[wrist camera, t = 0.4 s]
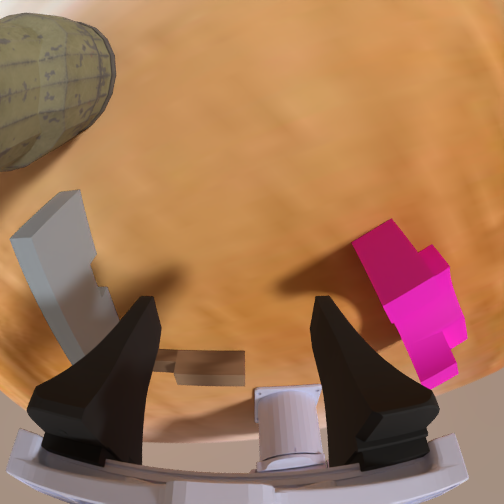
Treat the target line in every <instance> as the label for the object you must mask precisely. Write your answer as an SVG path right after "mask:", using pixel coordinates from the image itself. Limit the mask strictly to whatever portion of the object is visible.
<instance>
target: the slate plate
mask: <svg viewBox="0 0 504 504" xmlns="http://www.w3.org/2000/svg"><path fill="white" fill-rule="evenodd" d="M10 241H11V244H12V247H13V249H14V252H15V254H16V257H17V259H18V262H19V264H20V266H21V269H22V271H23V273H24V276H25V278H26V280H27V282H28V285H29V287H30V289H31V291H32V293H33V295H34V297H35V299H36V301H37V303H38V305H39V307H40V309H41V311H42V313H43V315H44V317H45V319H46V321H47V323H48V325H49V326H50V328H51V330H52V332H53V334H54V335H55V337H56V339H57V341H58V342H59V344H60V346H61V347H62V349H63V351H64V352H65V354H66V356H67V357H68V359H69V361H70V362H71V364H72V365H74V364H75V363H76V362H78V361H79V360H80V359H82V358H83V357H84V356H85V355H87V354H88V353H89V352H90V351H91V350H92V349H94V348H95V347H96V346H97V345H98V344H99V343H100V342H101V341H102V340H103V339H104V338H105V337H106V336H107V335H108V334H109V332H110V331H111V330H112V329H113V328H114V327H115V326H116V325H117V324H118V322H119V321H120V320H119V318H118V315H117V312H116V310H115V307H114V304H113V301H112V299H111V296H110V293H109V290H108V287H98V286H97V283H96V280H95V277H94V275H93V272H92V269H91V266H90V264H91V262H92V261H93V259H94V257H95V256H96V254H97V253H96V250H95V246H94V243H93V239H92V236H91V232H90V228H89V225H88V221H87V217H86V213H85V209H84V205H83V201H82V197H81V192H80V190H73V191H64V192H59V193H58V194H57V195H56V196H54V197H53V198H52V199H51V200H50V201H49V202H48V203H46V204H45V205H44V206H43V207H42V208H41V209H40V210H39V211H38V212H37V213H36V214H34V215H33V216H32V217H31V218H30V219H29V220H28V221H27V222H26V223H25V224H24V225H23V226H22V227H21V228H20V229H19V230H18V231H17V232H16V233H15V234H14V235H13V236H12V237H11V238H10Z"/></svg>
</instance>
